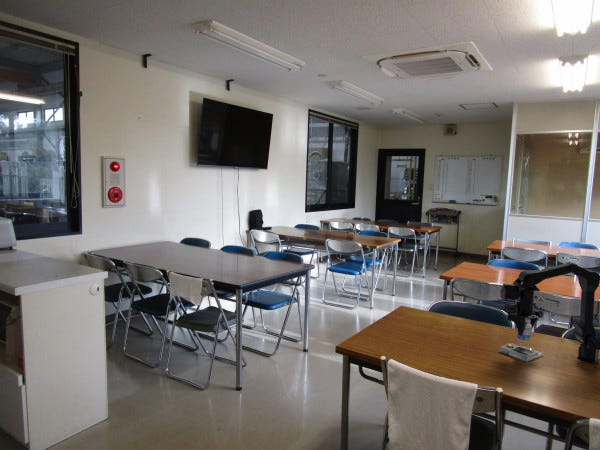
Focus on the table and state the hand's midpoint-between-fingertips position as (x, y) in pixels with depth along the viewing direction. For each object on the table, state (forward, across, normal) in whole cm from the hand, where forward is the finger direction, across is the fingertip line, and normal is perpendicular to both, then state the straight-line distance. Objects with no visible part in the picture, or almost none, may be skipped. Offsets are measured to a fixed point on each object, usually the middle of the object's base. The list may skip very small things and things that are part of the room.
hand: (524, 334), depth 186 cm
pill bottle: (+3, 0, 0) cm, 3 cm away
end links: (+10, -2, -2) cm, 10 cm away
